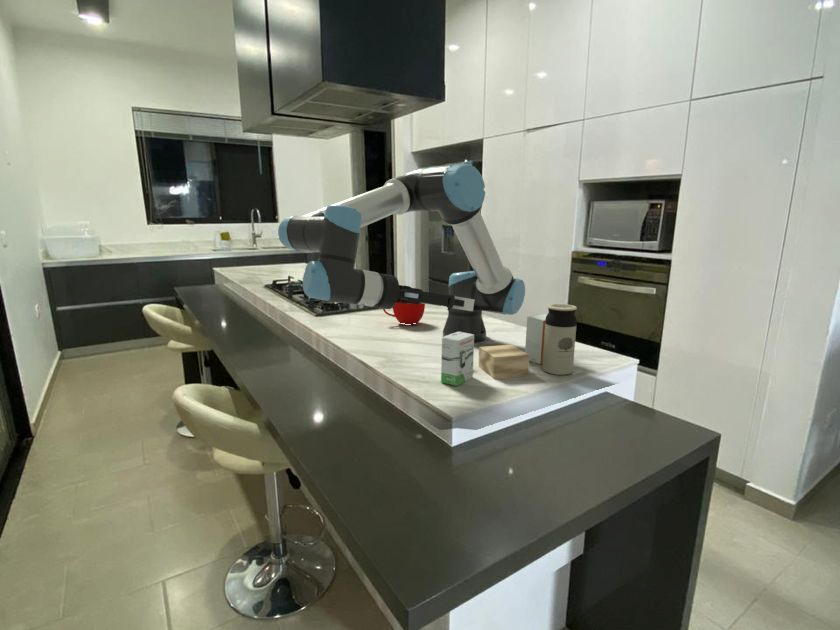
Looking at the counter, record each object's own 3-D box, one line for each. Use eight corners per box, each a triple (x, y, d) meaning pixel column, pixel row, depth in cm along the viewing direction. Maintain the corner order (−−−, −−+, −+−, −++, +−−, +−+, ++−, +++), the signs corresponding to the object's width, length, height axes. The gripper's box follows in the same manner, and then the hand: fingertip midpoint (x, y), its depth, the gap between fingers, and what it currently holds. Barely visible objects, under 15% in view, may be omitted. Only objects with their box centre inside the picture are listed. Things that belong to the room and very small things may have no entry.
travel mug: (540, 365, 127) (544, 303, 123) (569, 366, 126) (573, 303, 122) (544, 375, 119) (549, 308, 115) (575, 376, 118) (581, 309, 114)
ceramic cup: (379, 322, 180) (379, 297, 178) (419, 319, 185) (419, 295, 183) (386, 329, 168) (386, 303, 166) (429, 326, 173) (429, 301, 171)
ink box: (456, 386, 110) (458, 340, 108) (439, 382, 113) (440, 337, 110) (473, 377, 117) (475, 333, 114) (457, 373, 120) (458, 330, 117)
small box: (540, 365, 127) (543, 320, 125) (524, 359, 132) (526, 316, 130) (559, 360, 132) (562, 317, 129) (542, 355, 137) (545, 313, 134)
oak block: (478, 367, 125) (479, 346, 124) (511, 364, 128) (512, 344, 127) (493, 379, 116) (494, 357, 115) (528, 376, 119) (529, 354, 117)
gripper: (352, 302, 108) (427, 313, 119) (399, 312, 86) (485, 324, 97) (357, 271, 108) (431, 285, 118) (405, 274, 86) (491, 290, 97)
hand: (456, 303), depth 108 cm, fingers open, 13 cm apart
